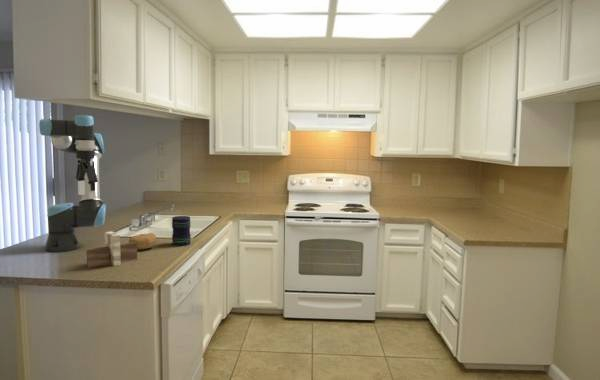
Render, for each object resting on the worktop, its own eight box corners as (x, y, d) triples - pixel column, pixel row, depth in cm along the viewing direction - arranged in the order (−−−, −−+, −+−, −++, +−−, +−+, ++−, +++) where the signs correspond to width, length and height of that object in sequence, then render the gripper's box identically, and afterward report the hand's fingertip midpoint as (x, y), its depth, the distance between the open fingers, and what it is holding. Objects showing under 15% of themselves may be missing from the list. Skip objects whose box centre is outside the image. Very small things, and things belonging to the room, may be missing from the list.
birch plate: (105, 261, 191) (104, 232, 190) (111, 259, 194) (111, 231, 192) (114, 266, 185) (113, 235, 183) (120, 264, 187) (119, 234, 185)
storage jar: (193, 242, 231) (193, 216, 229) (186, 246, 221) (186, 219, 219) (176, 241, 232) (176, 215, 230) (169, 245, 222) (168, 218, 220)
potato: (126, 249, 213) (125, 234, 212) (153, 245, 222) (152, 231, 221) (132, 253, 206) (132, 237, 205) (159, 249, 215) (159, 234, 214)
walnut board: (87, 267, 182) (86, 249, 181) (135, 258, 198) (135, 241, 197) (88, 268, 180) (88, 250, 180) (137, 258, 196) (136, 242, 195)
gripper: (67, 148, 191) (68, 193, 193) (86, 150, 174) (88, 200, 176) (84, 149, 196) (85, 192, 199) (104, 150, 179) (106, 198, 181)
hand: (86, 196), depth 187 cm, fingers open, 13 cm apart
